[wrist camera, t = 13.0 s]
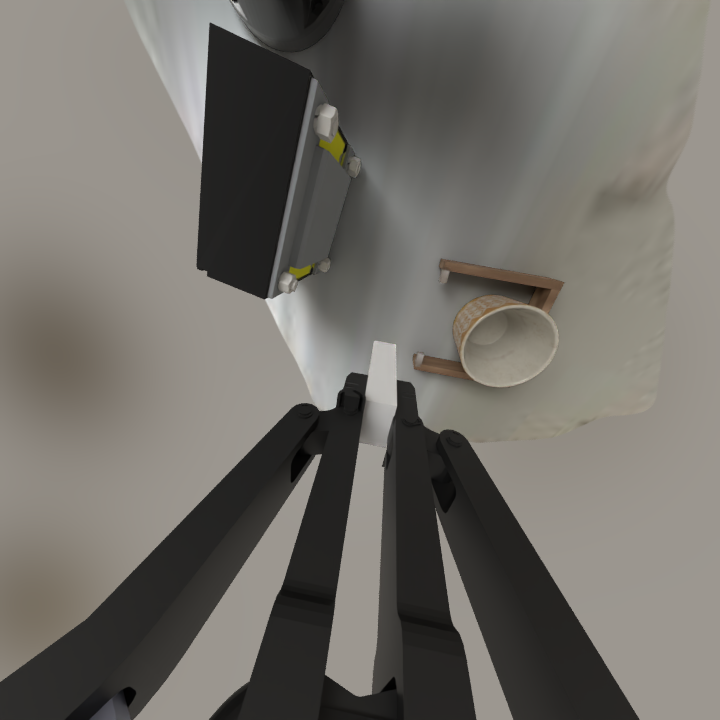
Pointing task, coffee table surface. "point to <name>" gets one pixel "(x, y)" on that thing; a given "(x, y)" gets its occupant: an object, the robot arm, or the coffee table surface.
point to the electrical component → (268, 170)
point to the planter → (504, 340)
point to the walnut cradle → (540, 299)
